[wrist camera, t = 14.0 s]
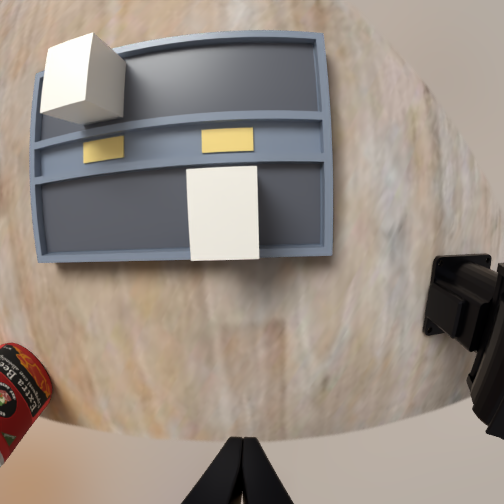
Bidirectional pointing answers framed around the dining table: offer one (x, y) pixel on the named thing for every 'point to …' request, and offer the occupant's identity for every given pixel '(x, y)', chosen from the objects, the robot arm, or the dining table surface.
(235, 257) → the white block
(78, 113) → the cream rectangular block
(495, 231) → the dining table surface
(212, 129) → the divided tray
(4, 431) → the canned food
